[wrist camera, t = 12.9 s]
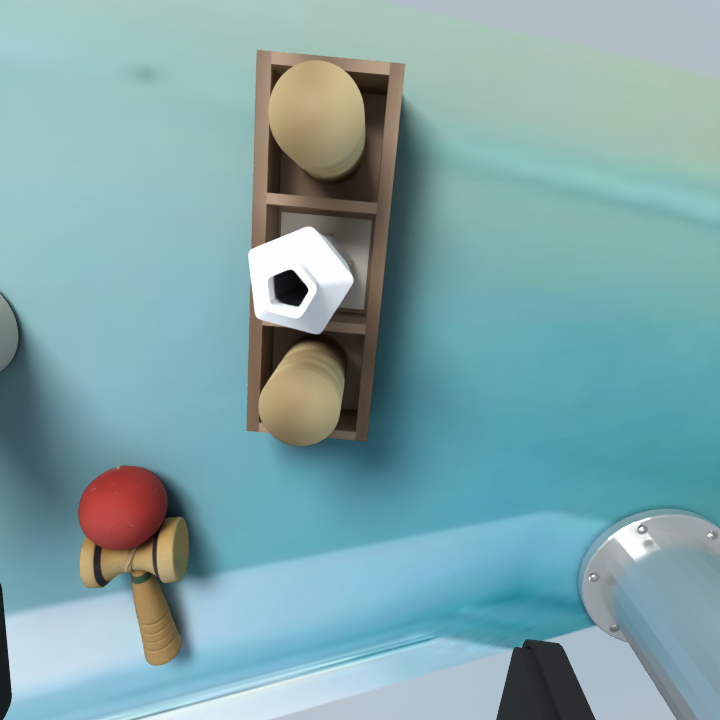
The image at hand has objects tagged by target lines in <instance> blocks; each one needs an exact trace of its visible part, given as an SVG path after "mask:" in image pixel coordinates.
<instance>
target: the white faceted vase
mask: <svg viewBox="0 0 720 720" xmlns="http://www.w3.org/2000/svg"><path fill="white" fill-rule="evenodd" d="M353 264H354V260H353V259H352V257H351V256H350V255H349V254H348V252H347V251H346V250H345V249H344V247H343V246H342V245H341V244H340V242H339V241H338V240H337V239H336V237H335V236H334V235H333V234H327V235H324V236H323V235H321V234H320V233H319V232H317V231H316V230H315V229H314V228H312V227H305V228H302V229H300V230H297V231H295V232H293V233H290V234H288V235H285V236H283V237H280V238H278V239H275V240H273V241H270V242H268V243H265V244H263V245H261V246H258V247H256V248H253V249H252V250H250V252H249V266H250V274H251V283H252V292H253V301H254V310H255V315H256V317H257V318H258V319H260V320H263V321H267V322H271V323H274V324H278V325H282V326H286V327H290V328H293V329H297V330H301V331H305V332H309V333H312V334H320V333H321V332H322V331H323V330H324V328H325V326H326V325H327V323H328V322H329V320H330V319H331V317H332V316H333V314H334V312H335V311H336V309H337V308H338V306H339V305H340V303H341V301H342V300H343V298H344V297H345V295H346V294H347V292H348V291H349V289H350V287H351V286H352V284H353V276H352V274H351V272H350V269H351V268H352V266H353Z"/></svg>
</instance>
